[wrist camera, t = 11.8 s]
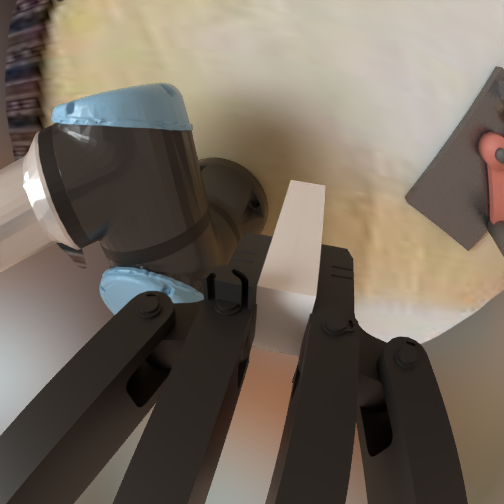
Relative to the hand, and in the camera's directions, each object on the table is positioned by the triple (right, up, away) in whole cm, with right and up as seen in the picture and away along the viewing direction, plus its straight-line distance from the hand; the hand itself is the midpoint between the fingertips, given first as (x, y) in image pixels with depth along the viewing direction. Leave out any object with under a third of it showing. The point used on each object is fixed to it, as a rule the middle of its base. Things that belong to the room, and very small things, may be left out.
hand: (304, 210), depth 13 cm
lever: (+32, +8, +16) cm, 37 cm away
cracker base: (+30, +10, +17) cm, 36 cm away
